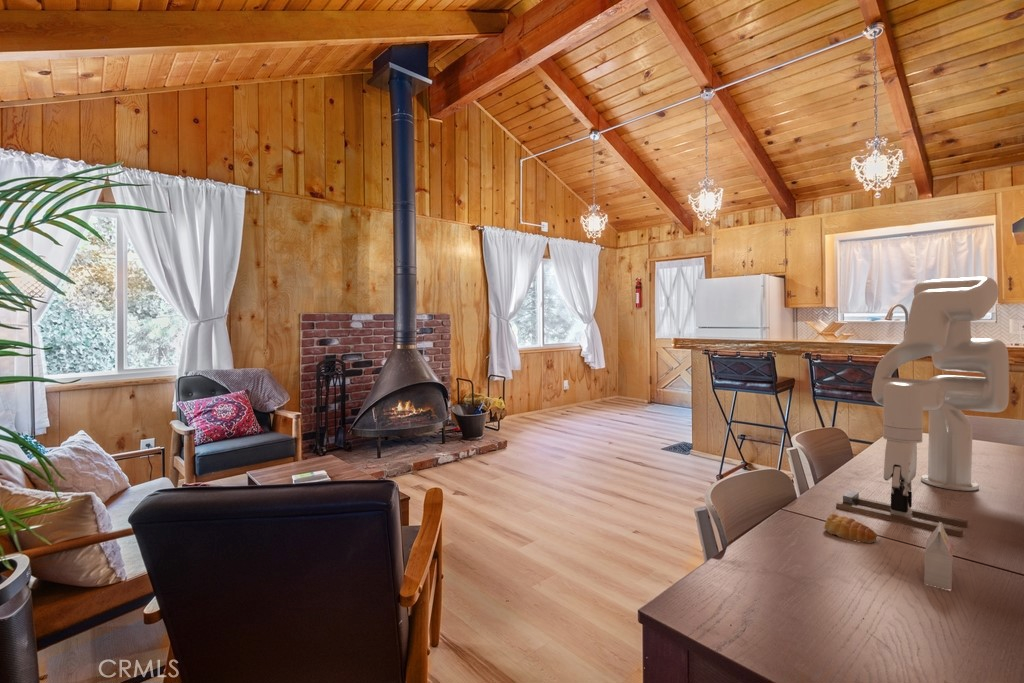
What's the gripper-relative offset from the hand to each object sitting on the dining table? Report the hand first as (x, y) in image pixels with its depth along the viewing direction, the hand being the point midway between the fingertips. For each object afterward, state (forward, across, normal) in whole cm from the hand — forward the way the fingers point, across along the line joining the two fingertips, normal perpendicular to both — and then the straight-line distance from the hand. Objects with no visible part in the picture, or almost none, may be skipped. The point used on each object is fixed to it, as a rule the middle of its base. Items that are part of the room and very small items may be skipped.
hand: (901, 507), depth 122 cm
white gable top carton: (+2, +32, +11) cm, 34 cm away
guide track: (+2, 0, 0) cm, 2 cm away
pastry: (+3, +21, -6) cm, 22 cm away
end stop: (+2, 0, -10) cm, 11 cm away
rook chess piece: (+2, 0, 0) cm, 2 cm away
